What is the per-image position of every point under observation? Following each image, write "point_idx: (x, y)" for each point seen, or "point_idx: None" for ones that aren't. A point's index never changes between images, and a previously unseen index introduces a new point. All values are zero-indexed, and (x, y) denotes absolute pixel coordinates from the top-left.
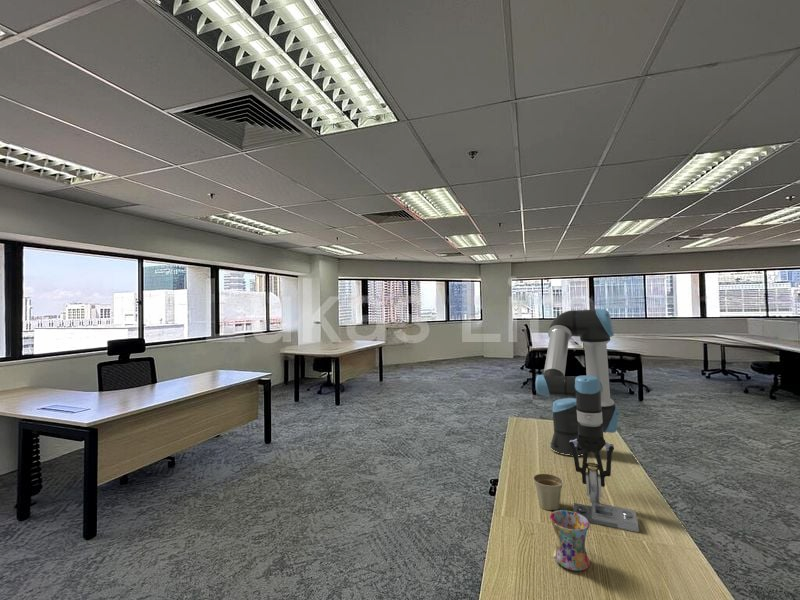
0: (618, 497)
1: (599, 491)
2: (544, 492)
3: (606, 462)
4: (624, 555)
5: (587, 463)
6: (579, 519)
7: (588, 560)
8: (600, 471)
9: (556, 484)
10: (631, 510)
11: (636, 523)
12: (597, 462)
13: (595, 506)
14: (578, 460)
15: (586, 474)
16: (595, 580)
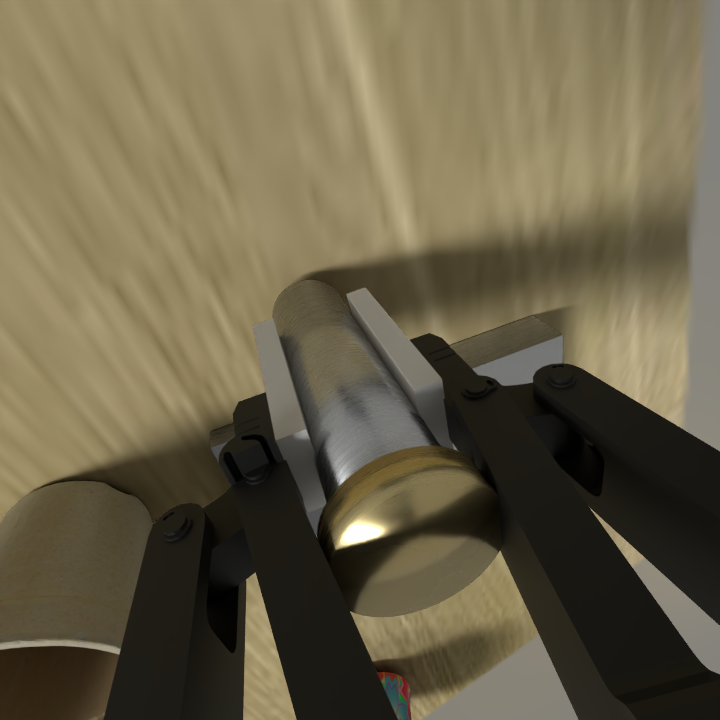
0: (433, 46)
1: None
2: (78, 700)
3: (655, 483)
4: (484, 577)
5: (344, 564)
6: None
7: (409, 697)
8: None
9: (60, 587)
10: (544, 350)
11: None
12: (538, 628)
13: None
14: (206, 667)
15: (305, 488)
16: (425, 691)
